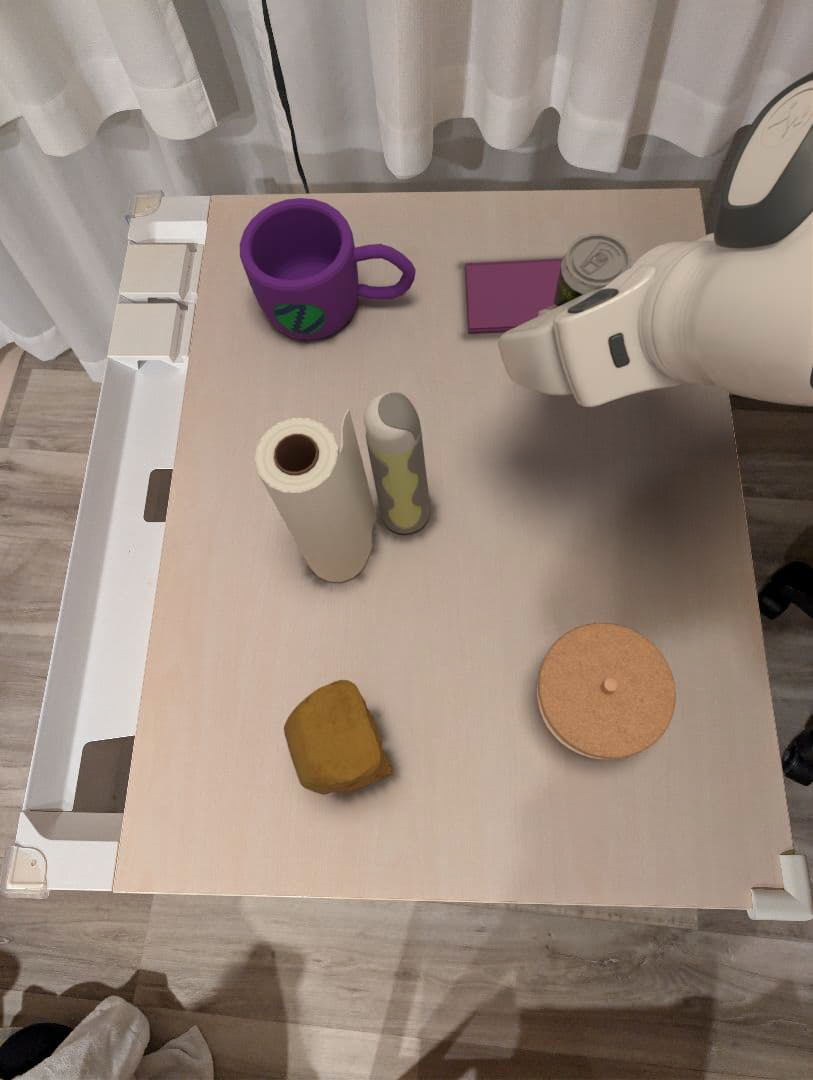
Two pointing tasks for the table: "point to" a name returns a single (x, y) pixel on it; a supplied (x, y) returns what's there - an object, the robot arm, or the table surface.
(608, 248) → the beer can
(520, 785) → the table surface
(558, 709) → the trinket box
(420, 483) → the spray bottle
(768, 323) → the robot arm
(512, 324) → the flat purple rectangular slab
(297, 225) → the mug
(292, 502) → the paper towel roll
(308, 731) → the wooden tiki figurine
